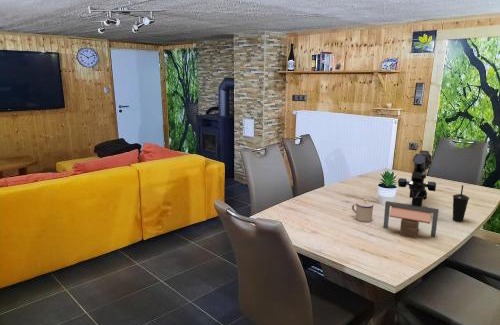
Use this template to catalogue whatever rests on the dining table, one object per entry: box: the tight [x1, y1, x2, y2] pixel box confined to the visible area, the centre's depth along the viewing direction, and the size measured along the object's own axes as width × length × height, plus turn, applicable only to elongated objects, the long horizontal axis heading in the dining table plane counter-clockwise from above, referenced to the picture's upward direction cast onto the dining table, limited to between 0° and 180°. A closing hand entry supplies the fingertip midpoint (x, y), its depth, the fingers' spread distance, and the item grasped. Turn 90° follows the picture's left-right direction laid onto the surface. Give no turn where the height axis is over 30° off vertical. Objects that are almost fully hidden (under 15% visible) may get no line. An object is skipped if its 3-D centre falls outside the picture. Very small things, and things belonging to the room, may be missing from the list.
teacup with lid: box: [351, 198, 374, 223], centre depth 194 cm, size 12×9×12 cm
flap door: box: [389, 206, 432, 224], centre depth 173 cm, size 1×18×6 cm
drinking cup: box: [452, 184, 470, 223], centre depth 189 cm, size 8×8×20 cm
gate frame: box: [383, 200, 439, 238], centre depth 176 cm, size 2×24×14 cm, turn 60°
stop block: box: [399, 219, 420, 239], centre depth 177 cm, size 14×7×8 cm, turn 150°
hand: (414, 197), depth 190 cm, fingers closed
